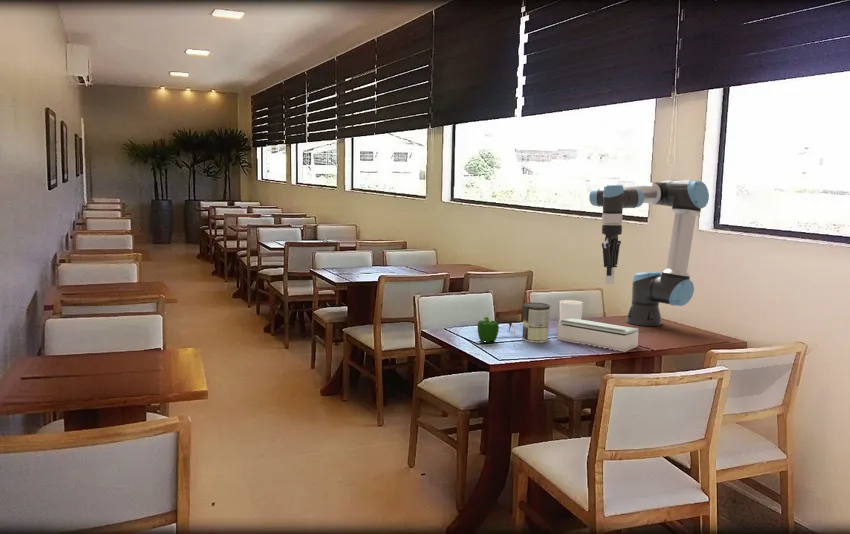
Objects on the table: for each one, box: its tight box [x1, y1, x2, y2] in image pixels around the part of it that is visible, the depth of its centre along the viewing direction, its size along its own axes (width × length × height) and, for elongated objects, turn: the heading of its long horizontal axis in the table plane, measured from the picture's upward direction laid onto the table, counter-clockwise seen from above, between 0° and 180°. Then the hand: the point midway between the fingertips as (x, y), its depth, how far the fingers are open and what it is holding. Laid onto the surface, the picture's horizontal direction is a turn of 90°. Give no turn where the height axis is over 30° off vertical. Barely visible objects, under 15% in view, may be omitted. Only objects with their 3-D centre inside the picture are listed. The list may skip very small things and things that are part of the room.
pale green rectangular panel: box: [557, 318, 639, 334], centre depth 267 cm, size 12×28×1 cm, turn 50°
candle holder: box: [559, 299, 584, 324], centre depth 290 cm, size 10×10×12 cm
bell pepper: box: [477, 316, 500, 343], centre depth 265 cm, size 8×8×10 cm
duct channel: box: [556, 323, 639, 353], centre depth 267 cm, size 12×28×6 cm, turn 50°
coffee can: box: [522, 302, 551, 344], centre depth 269 cm, size 10×10×14 cm
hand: (609, 283), depth 271 cm, fingers closed
